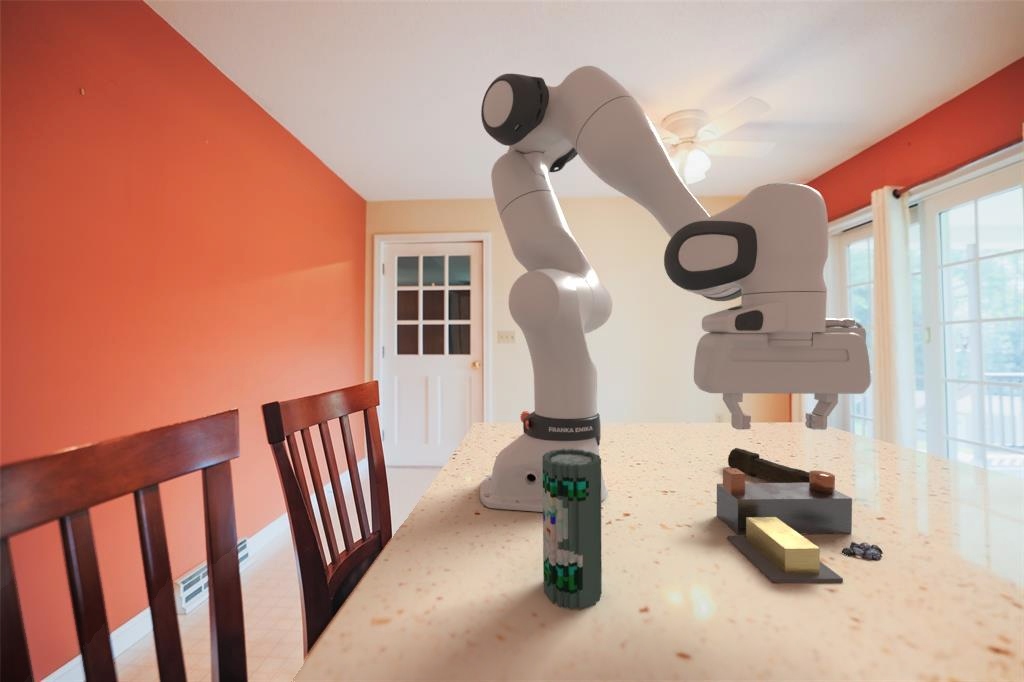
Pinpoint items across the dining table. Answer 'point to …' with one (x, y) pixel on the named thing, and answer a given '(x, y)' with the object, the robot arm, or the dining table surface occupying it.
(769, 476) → the hand tool
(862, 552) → the blueberries
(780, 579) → the mat
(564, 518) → the can
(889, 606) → the dining table surface
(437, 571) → the dining table surface
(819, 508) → the plane body
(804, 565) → the gold metallic block
